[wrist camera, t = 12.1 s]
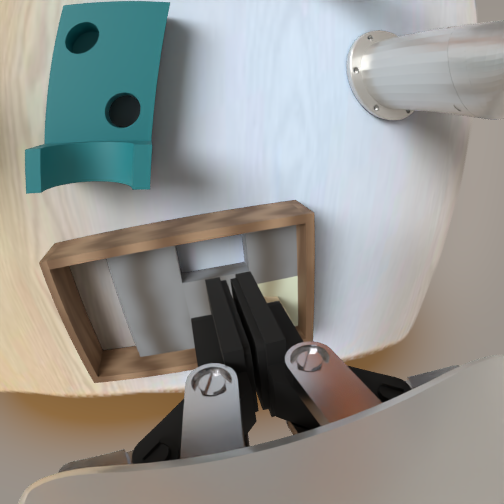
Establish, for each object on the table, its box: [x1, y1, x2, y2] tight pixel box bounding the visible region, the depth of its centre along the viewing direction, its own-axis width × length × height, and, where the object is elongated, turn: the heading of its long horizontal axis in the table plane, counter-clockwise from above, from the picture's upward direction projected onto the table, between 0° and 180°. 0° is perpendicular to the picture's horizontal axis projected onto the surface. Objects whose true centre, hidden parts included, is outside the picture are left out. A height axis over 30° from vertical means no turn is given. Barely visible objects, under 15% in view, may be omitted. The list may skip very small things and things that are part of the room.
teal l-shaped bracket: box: [25, 1, 170, 194], centre depth 23 cm, size 18×11×10 cm, turn 173°
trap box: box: [39, 200, 315, 383], centre depth 36 cm, size 30×18×6 cm, turn 95°
